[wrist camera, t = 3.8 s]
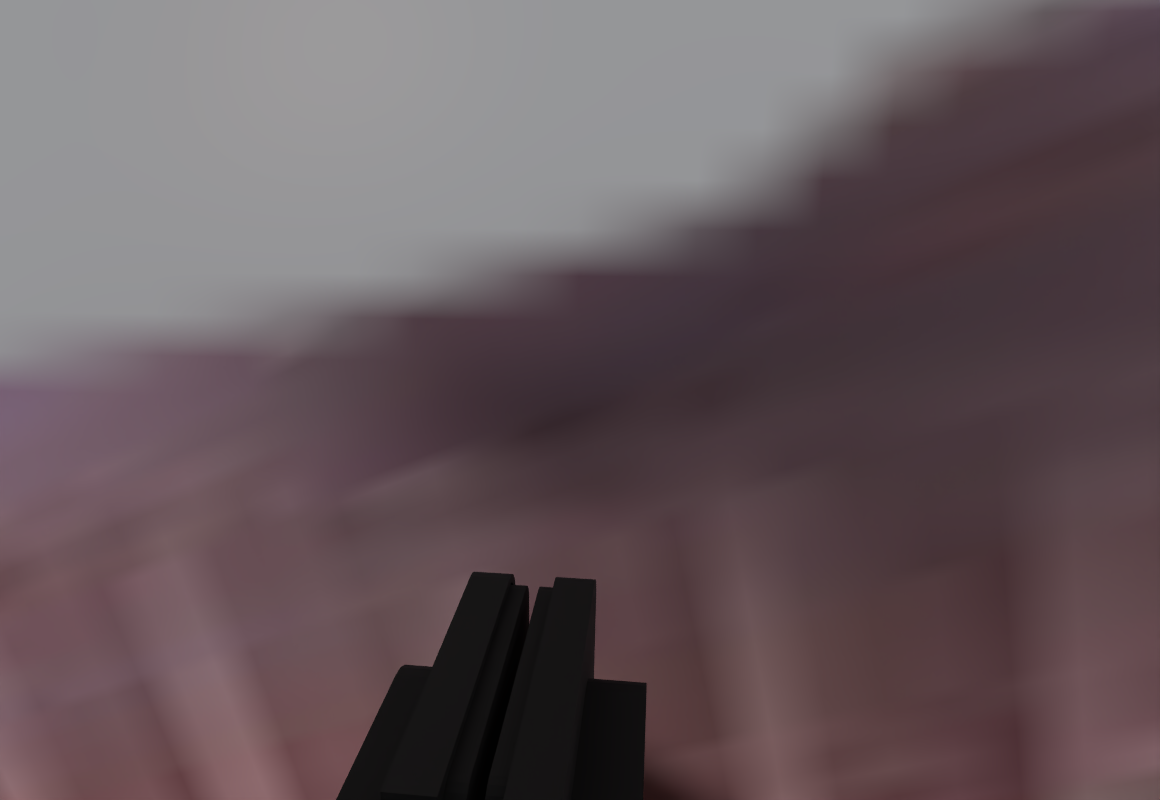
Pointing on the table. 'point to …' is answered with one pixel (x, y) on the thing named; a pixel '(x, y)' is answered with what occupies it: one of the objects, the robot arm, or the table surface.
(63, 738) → the table surface
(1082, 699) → the table surface
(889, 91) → the table surface
